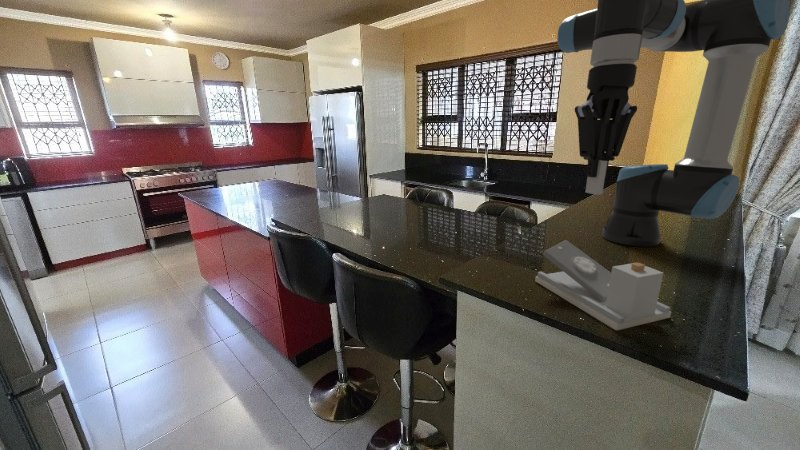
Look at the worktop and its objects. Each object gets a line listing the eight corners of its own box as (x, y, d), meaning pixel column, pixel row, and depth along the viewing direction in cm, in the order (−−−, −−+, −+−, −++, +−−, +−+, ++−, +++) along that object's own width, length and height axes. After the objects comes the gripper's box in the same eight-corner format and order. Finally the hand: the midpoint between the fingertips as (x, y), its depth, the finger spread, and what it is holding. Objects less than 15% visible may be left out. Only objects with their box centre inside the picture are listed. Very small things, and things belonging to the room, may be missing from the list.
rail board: (580, 273, 82) (585, 232, 79) (670, 317, 63) (682, 265, 60) (535, 281, 78) (539, 238, 75) (616, 330, 59) (626, 276, 56)
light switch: (607, 296, 64) (545, 247, 73) (591, 314, 68) (534, 266, 76) (628, 280, 69) (567, 236, 77) (612, 298, 73) (556, 254, 81)
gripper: (621, 70, 67) (602, 188, 73) (568, 67, 63) (553, 192, 70) (659, 63, 60) (635, 194, 67) (602, 59, 56) (582, 198, 63)
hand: (593, 193), depth 68 cm, fingers closed
